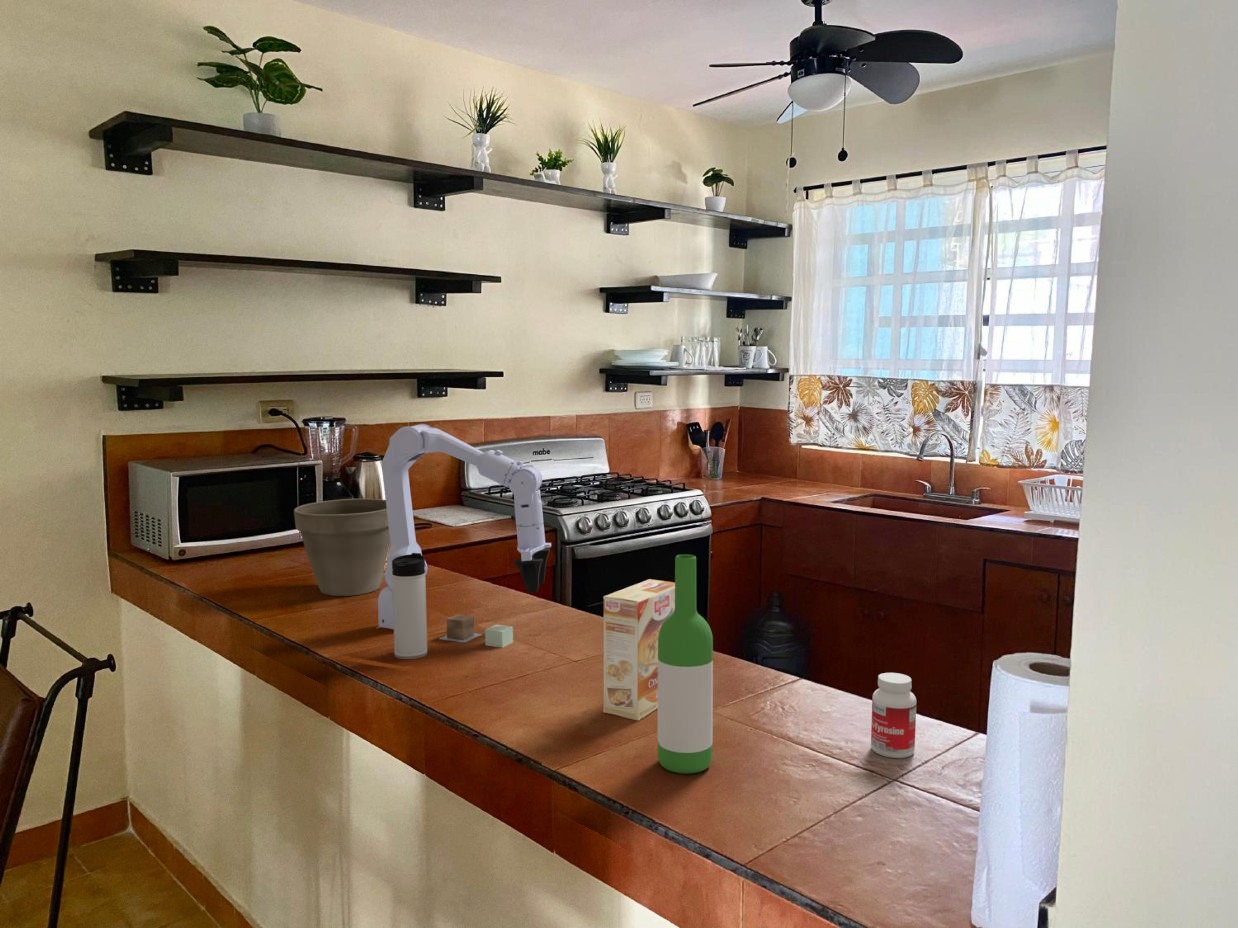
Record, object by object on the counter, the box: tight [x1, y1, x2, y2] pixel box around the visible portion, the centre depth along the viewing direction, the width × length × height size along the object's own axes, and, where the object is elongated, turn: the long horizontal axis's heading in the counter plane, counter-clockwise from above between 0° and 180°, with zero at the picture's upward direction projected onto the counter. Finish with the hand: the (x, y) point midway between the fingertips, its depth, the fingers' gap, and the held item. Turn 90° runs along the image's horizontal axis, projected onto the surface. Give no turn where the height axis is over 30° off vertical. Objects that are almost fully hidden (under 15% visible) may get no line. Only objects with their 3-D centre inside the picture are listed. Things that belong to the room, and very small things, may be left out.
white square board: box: [438, 632, 483, 644], centre depth 193 cm, size 12×12×1 cm
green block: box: [484, 624, 514, 649], centre depth 188 cm, size 4×4×4 cm
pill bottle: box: [870, 672, 917, 759], centre depth 136 cm, size 6×6×11 cm
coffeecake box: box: [602, 578, 675, 721], centre depth 156 cm, size 15×7×20 cm, turn 148°
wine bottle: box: [657, 553, 714, 775], centre depth 131 cm, size 8×8×30 cm
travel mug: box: [392, 552, 428, 660], centre depth 181 cm, size 6×7×20 cm
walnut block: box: [446, 613, 475, 640], centre depth 193 cm, size 4×4×4 cm
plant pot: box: [293, 498, 391, 597], centre depth 236 cm, size 25×25×22 cm
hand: (535, 587), depth 197 cm, fingers open, 7 cm apart
